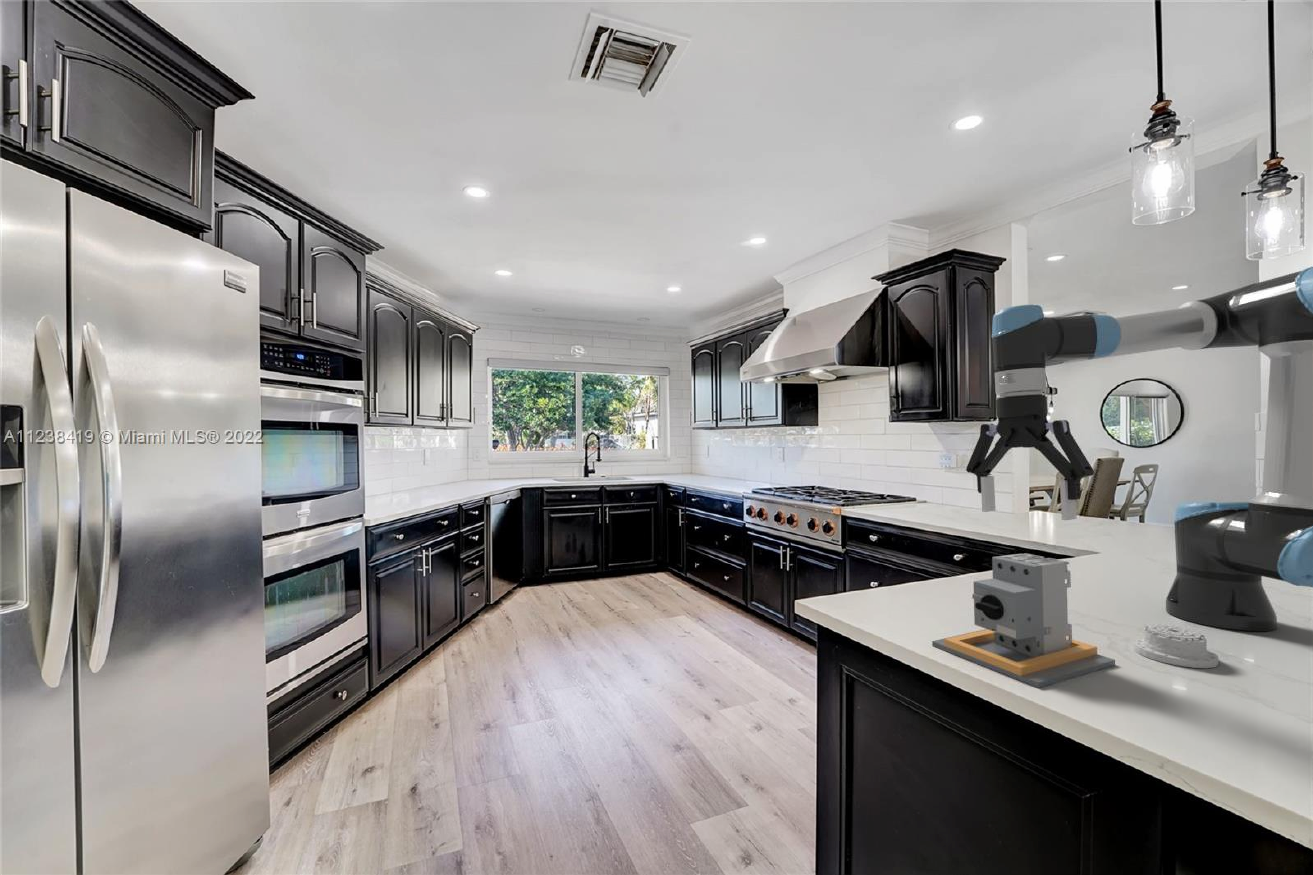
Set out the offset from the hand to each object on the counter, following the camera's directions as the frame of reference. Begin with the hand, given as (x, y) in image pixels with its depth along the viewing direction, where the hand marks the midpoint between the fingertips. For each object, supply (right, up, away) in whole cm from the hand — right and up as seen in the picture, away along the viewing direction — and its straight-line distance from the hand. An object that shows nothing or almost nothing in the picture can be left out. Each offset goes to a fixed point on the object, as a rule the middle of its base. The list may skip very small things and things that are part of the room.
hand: (1026, 515), depth 95 cm
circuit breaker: (-4, -22, -5) cm, 23 cm away
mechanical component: (+20, -23, -6) cm, 31 cm away
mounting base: (-4, -23, -4) cm, 24 cm away
